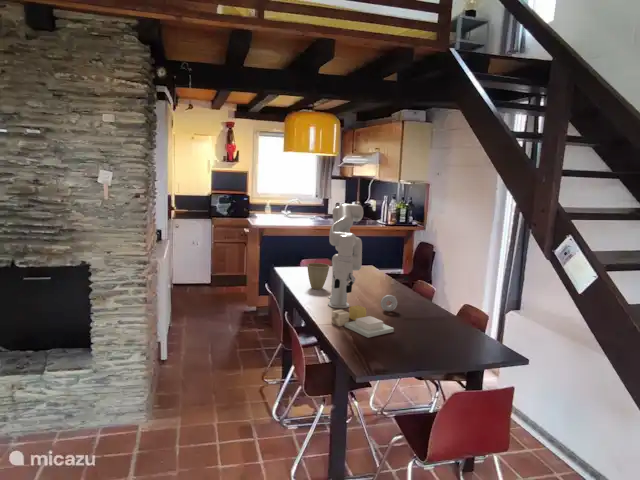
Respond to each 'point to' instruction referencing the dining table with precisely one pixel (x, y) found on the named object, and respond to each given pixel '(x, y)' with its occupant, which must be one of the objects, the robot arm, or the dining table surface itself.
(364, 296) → the dining table surface
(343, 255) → the robot arm
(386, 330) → the base
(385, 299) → the donut
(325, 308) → the dining table surface
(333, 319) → the maple block
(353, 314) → the mustard block
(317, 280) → the plant pot
